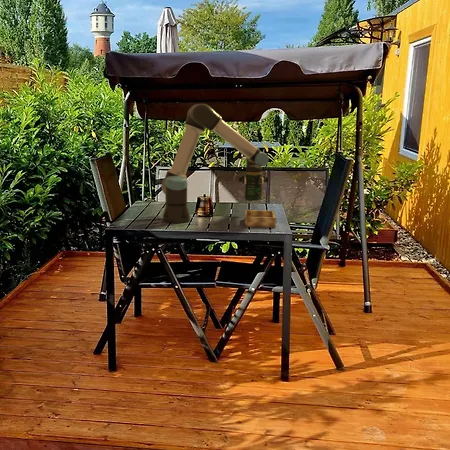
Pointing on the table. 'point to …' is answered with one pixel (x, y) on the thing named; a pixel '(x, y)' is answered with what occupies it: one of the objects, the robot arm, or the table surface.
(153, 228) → the table surface
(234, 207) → the table surface
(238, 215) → the table surface
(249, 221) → the pine crate
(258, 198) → the coffee jar
